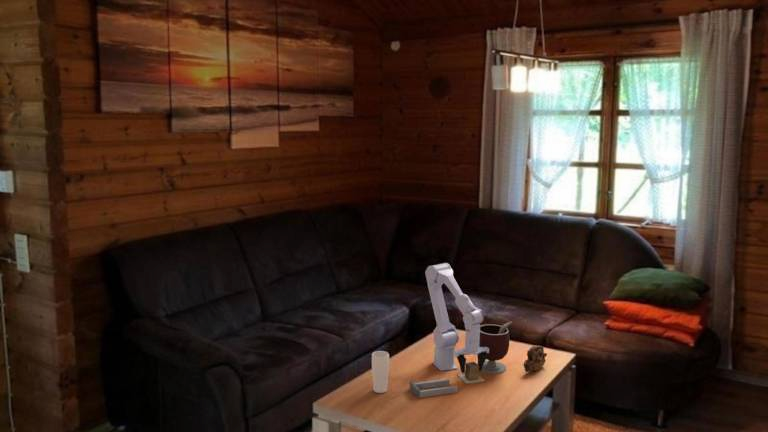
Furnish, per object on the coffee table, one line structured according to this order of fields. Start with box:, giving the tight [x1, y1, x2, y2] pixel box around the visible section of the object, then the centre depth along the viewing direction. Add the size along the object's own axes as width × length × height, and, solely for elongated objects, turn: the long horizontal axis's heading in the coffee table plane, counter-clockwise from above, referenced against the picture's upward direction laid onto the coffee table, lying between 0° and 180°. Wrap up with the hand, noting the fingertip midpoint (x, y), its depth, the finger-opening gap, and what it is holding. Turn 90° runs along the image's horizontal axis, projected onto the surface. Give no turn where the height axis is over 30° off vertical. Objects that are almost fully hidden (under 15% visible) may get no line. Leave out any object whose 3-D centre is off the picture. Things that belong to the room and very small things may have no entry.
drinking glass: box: [371, 350, 390, 394], centre depth 243 cm, size 7×7×15 cm
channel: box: [409, 378, 458, 399], centre depth 245 cm, size 8×16×3 cm, turn 109°
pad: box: [457, 373, 485, 384], centre depth 257 cm, size 8×8×1 cm
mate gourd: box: [479, 321, 513, 375], centre depth 266 cm, size 16×14×20 cm
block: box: [464, 361, 480, 381], centre depth 256 cm, size 4×4×6 cm
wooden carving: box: [522, 345, 548, 373], centre depth 266 cm, size 16×5×10 cm, turn 143°
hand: (471, 370), depth 256 cm, fingers open, 7 cm apart
